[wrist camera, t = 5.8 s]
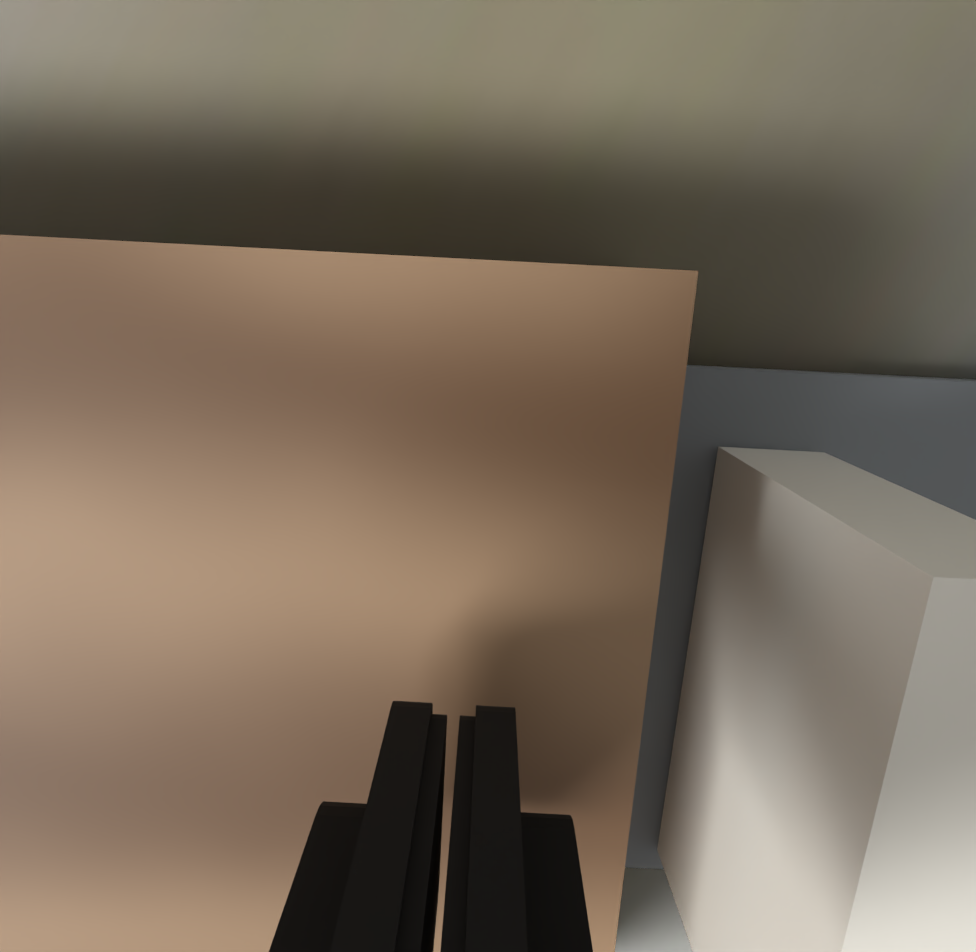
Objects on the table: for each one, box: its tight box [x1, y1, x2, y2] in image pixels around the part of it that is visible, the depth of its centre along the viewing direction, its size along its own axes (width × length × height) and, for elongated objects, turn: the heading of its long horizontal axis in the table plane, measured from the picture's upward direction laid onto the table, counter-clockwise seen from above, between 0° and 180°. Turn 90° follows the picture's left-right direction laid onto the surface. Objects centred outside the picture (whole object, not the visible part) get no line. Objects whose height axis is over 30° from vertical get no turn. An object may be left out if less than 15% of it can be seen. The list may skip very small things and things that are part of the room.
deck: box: [0, 235, 698, 952], centre depth 12 cm, size 16×18×4 cm
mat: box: [625, 365, 976, 869], centre depth 14 cm, size 11×11×1 cm
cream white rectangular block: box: [657, 447, 976, 952], centre depth 11 cm, size 9×6×2 cm
